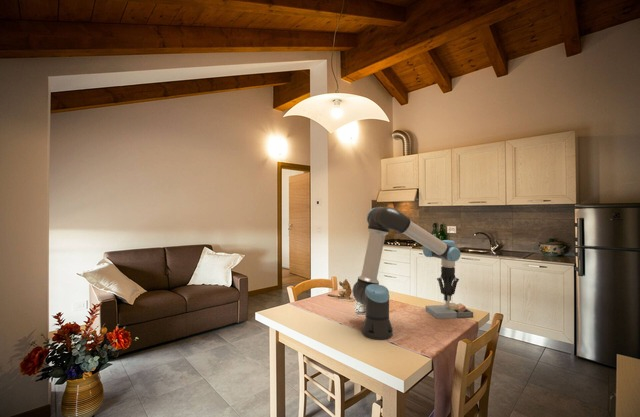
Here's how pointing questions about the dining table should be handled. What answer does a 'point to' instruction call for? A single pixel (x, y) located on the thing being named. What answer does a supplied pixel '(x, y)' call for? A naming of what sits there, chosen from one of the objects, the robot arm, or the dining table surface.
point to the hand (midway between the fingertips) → (447, 306)
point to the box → (464, 314)
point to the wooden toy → (344, 292)
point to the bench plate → (441, 312)
